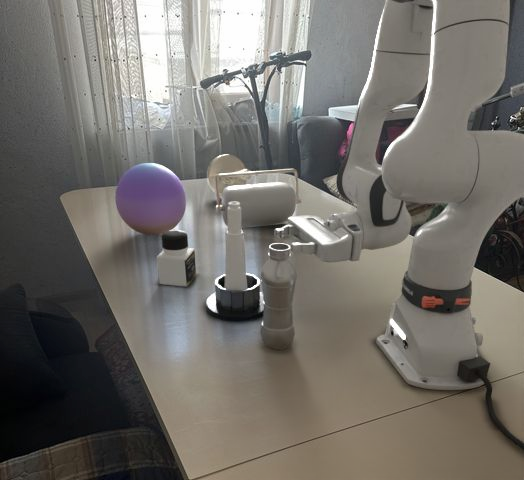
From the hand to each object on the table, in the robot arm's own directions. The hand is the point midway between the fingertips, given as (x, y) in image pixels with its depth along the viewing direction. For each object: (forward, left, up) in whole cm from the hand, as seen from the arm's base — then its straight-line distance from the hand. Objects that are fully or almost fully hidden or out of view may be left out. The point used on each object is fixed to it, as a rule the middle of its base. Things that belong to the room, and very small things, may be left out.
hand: (283, 240), depth 109 cm
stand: (-3, +10, -14) cm, 17 cm away
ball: (+44, +36, -14) cm, 58 cm away
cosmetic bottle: (-4, +10, -13) cm, 17 cm away
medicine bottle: (+11, +25, -14) cm, 31 cm away
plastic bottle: (-19, +2, -14) cm, 24 cm away
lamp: (+66, +10, -14) cm, 68 cm away
